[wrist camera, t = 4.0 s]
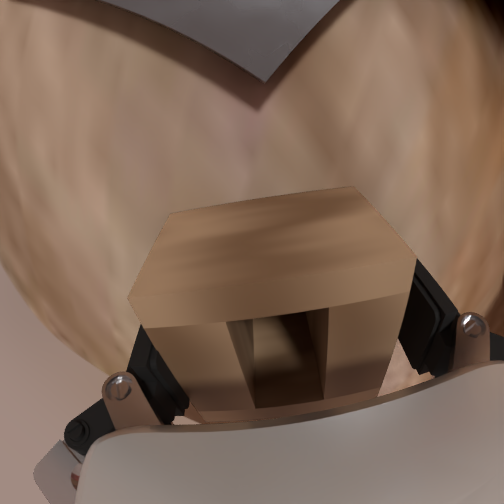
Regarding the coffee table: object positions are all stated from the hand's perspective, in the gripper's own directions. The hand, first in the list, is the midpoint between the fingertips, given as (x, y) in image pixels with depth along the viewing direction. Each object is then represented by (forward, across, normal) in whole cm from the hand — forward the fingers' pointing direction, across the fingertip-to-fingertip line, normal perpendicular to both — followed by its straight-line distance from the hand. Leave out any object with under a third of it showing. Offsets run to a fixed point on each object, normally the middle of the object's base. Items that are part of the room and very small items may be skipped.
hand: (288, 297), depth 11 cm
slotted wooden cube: (+2, 0, 0) cm, 2 cm away
